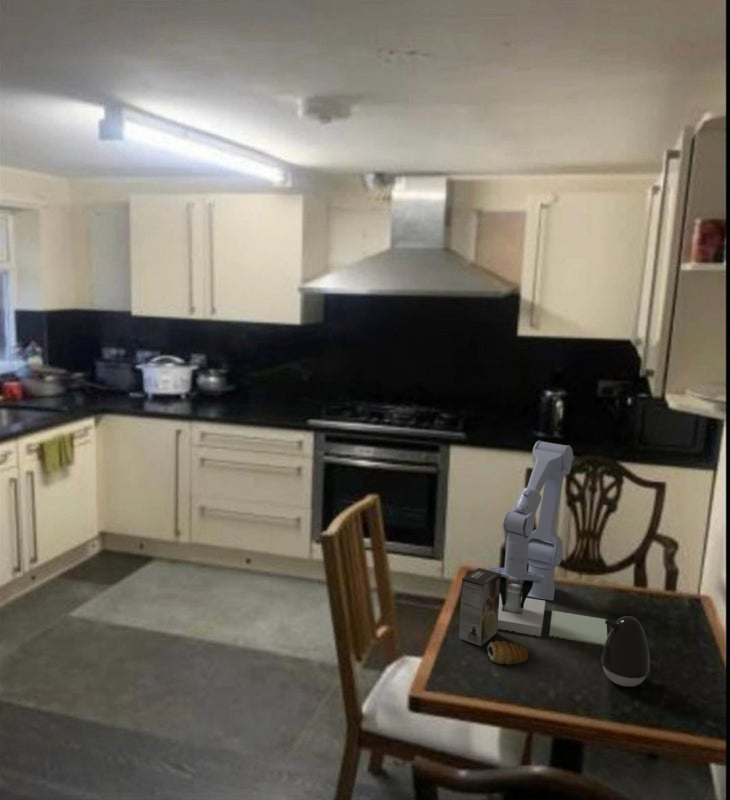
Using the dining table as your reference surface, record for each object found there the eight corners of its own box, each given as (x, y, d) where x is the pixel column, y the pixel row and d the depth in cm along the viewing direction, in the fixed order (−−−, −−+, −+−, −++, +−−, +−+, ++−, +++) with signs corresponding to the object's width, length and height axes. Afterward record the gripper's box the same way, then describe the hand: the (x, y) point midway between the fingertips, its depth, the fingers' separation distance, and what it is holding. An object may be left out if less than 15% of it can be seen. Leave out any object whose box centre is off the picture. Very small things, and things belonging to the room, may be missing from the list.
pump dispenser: (593, 667, 165) (599, 606, 163) (638, 669, 165) (644, 608, 162) (606, 692, 155) (612, 627, 153) (654, 694, 155) (661, 629, 152)
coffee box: (475, 625, 184) (479, 566, 181) (497, 633, 180) (502, 573, 177) (458, 638, 176) (461, 577, 174) (481, 647, 172) (485, 585, 170)
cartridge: (504, 612, 191) (506, 582, 190) (521, 615, 190) (523, 585, 189) (502, 619, 187) (504, 589, 186) (519, 622, 186) (521, 591, 184)
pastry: (522, 650, 172) (523, 636, 171) (531, 665, 165) (533, 650, 165) (484, 651, 171) (485, 637, 170) (492, 666, 164) (494, 651, 164)
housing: (486, 599, 198) (486, 591, 198) (544, 609, 194) (545, 600, 193) (477, 625, 183) (478, 616, 183) (540, 636, 179) (541, 627, 178)
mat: (552, 612, 192) (552, 610, 192) (606, 621, 188) (606, 619, 188) (549, 636, 179) (549, 634, 179) (607, 646, 175) (607, 644, 175)
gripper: (486, 558, 184) (483, 607, 186) (543, 566, 180) (539, 616, 182) (490, 548, 191) (487, 596, 193) (545, 556, 187) (541, 604, 189)
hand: (512, 605), depth 188 cm, fingers closed on cartridge, 4 cm apart
